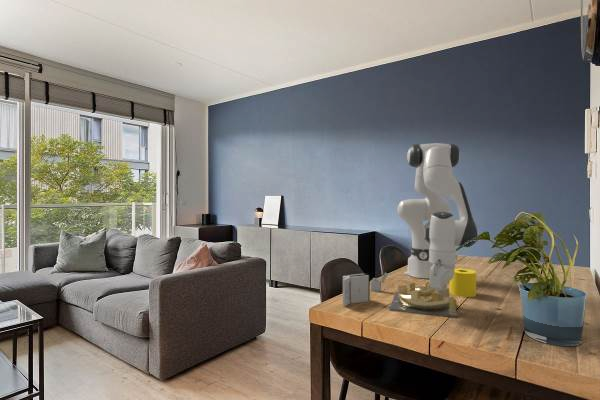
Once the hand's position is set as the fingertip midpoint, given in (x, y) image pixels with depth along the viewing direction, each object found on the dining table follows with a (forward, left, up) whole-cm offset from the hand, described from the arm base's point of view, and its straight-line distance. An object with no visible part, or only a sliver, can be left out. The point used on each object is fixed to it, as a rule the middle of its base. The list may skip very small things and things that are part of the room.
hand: (442, 296), depth 125 cm
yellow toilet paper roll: (-24, +9, -5) cm, 26 cm away
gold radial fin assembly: (-3, -6, -4) cm, 8 cm away
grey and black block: (+3, -31, -5) cm, 32 cm away
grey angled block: (-16, -24, -5) cm, 30 cm away
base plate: (-3, -6, -5) cm, 9 cm away
